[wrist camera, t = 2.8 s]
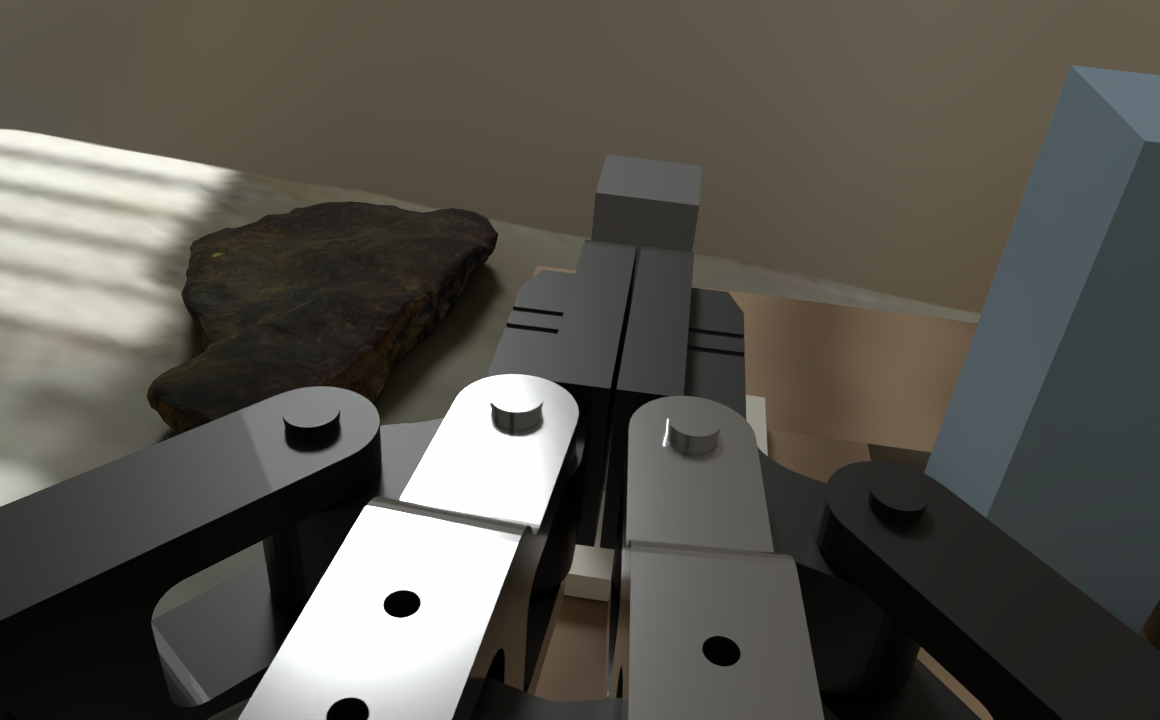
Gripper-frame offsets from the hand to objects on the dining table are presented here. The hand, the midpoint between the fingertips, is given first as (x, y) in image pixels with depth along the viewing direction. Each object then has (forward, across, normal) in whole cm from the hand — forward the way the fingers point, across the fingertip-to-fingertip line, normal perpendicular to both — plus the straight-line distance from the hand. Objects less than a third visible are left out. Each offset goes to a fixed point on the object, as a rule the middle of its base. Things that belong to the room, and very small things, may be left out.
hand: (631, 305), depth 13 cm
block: (+10, -12, +14) cm, 21 cm away
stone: (+20, +14, +15) cm, 29 cm away
